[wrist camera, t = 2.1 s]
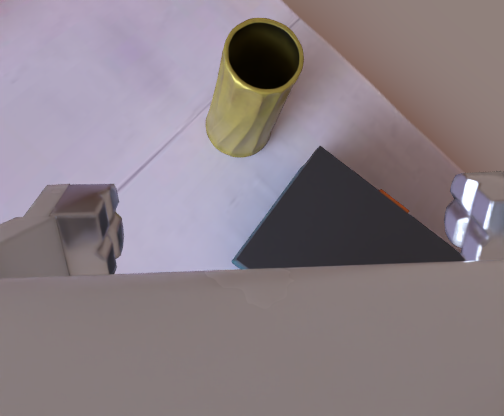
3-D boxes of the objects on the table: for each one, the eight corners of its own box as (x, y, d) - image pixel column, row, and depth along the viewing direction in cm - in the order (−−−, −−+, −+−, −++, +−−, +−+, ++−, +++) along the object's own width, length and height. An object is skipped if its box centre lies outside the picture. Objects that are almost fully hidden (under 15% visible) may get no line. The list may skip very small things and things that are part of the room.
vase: (204, 94, 44) (215, 7, 30) (269, 95, 45) (308, 12, 31) (206, 157, 43) (218, 99, 29) (272, 158, 44) (313, 101, 30)
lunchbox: (224, 266, 42) (231, 264, 36) (303, 160, 45) (323, 140, 38) (361, 370, 42) (393, 386, 36) (432, 259, 45) (473, 255, 39)
